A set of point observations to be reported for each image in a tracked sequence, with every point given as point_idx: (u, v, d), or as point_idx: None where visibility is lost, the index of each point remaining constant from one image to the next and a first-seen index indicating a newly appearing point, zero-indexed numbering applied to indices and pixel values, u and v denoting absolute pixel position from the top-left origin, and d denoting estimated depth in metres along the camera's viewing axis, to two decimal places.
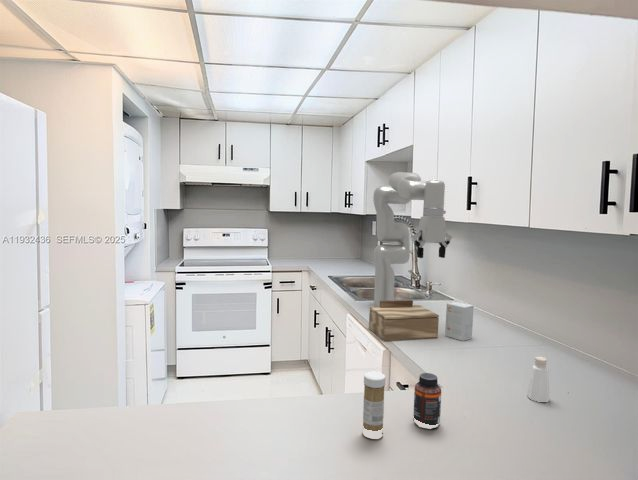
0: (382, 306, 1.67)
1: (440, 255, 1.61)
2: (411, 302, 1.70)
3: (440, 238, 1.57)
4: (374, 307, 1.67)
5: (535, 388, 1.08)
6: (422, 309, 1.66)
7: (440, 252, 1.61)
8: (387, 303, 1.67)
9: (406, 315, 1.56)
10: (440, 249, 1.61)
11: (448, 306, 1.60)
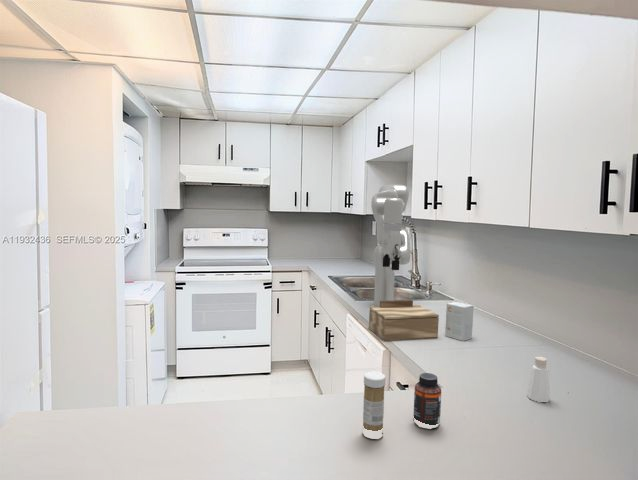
0: (382, 306, 1.67)
1: (386, 265, 1.79)
2: (411, 302, 1.70)
3: None
4: (374, 307, 1.67)
5: (535, 388, 1.08)
6: (422, 309, 1.66)
7: (385, 262, 1.79)
8: (387, 303, 1.67)
9: (406, 315, 1.56)
10: (385, 259, 1.79)
11: (448, 306, 1.60)
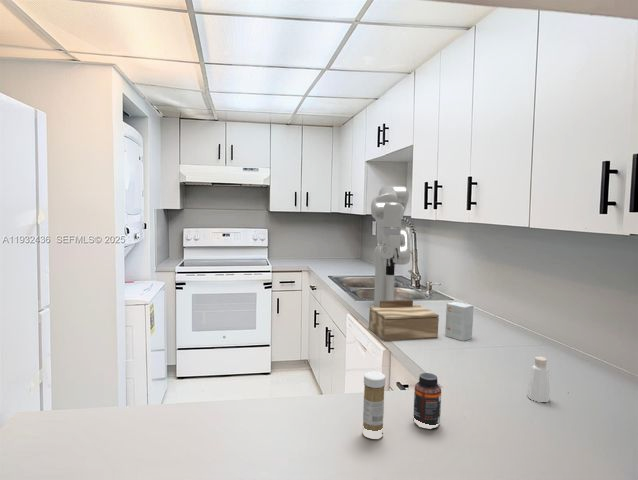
0: (382, 306, 1.67)
1: None
2: (411, 302, 1.70)
3: None
4: (374, 307, 1.67)
5: (535, 388, 1.08)
6: (422, 309, 1.66)
7: None
8: (387, 303, 1.67)
9: (406, 315, 1.56)
10: None
11: (448, 306, 1.60)
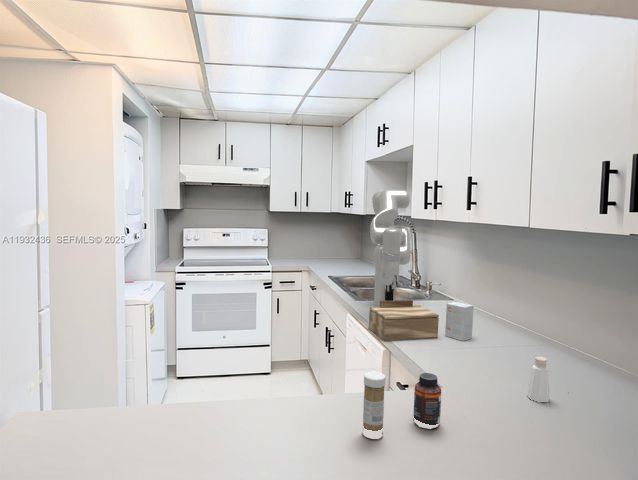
0: (382, 306, 1.67)
1: None
2: (411, 302, 1.70)
3: None
4: (374, 307, 1.67)
5: (535, 388, 1.08)
6: (422, 309, 1.66)
7: None
8: (387, 303, 1.67)
9: (406, 315, 1.56)
10: None
11: (448, 306, 1.60)
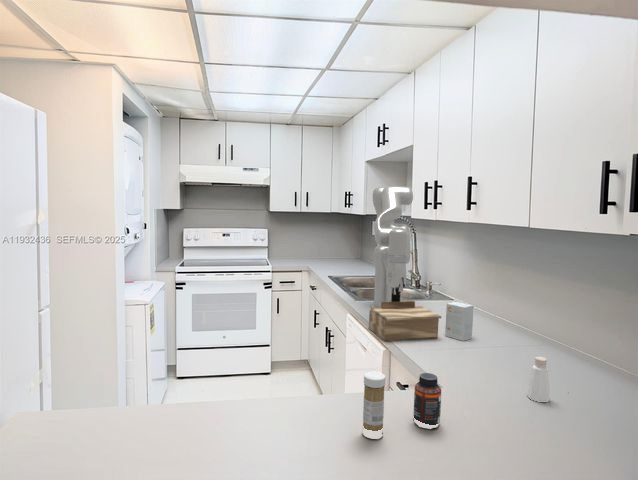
0: (384, 307, 1.65)
1: None
2: (413, 303, 1.68)
3: None
4: (376, 308, 1.65)
5: (535, 388, 1.08)
6: (424, 310, 1.64)
7: None
8: (389, 304, 1.66)
9: (408, 316, 1.54)
10: None
11: (448, 306, 1.60)
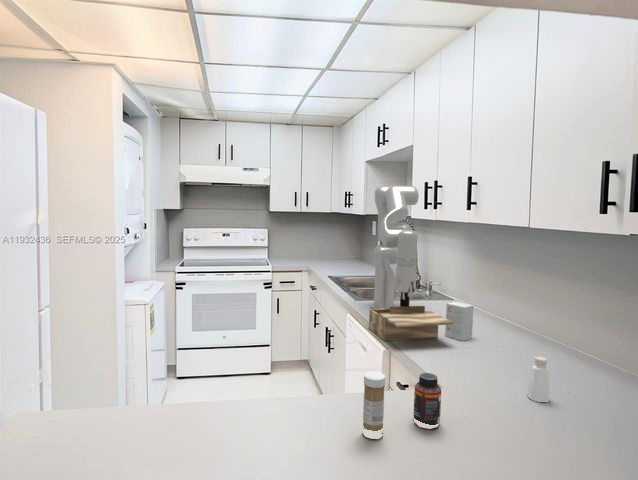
0: (392, 312, 1.57)
1: None
2: (423, 308, 1.60)
3: None
4: (384, 313, 1.57)
5: (535, 388, 1.08)
6: (435, 315, 1.56)
7: None
8: (398, 309, 1.58)
9: (419, 322, 1.46)
10: None
11: (448, 306, 1.60)
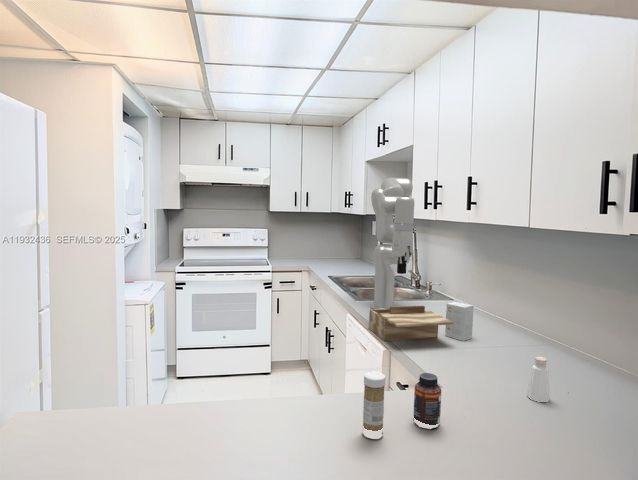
0: (392, 312, 1.57)
1: None
2: (423, 308, 1.60)
3: None
4: (384, 313, 1.57)
5: (535, 388, 1.08)
6: (435, 315, 1.56)
7: None
8: (398, 309, 1.58)
9: (419, 322, 1.46)
10: None
11: (448, 306, 1.60)
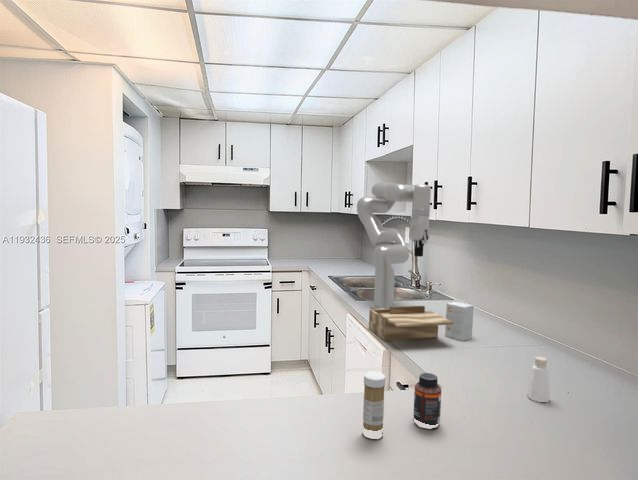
0: (392, 312, 1.57)
1: None
2: (423, 308, 1.60)
3: None
4: (384, 313, 1.57)
5: (535, 388, 1.08)
6: (435, 315, 1.56)
7: None
8: (398, 309, 1.58)
9: (419, 322, 1.46)
10: None
11: (448, 306, 1.60)
